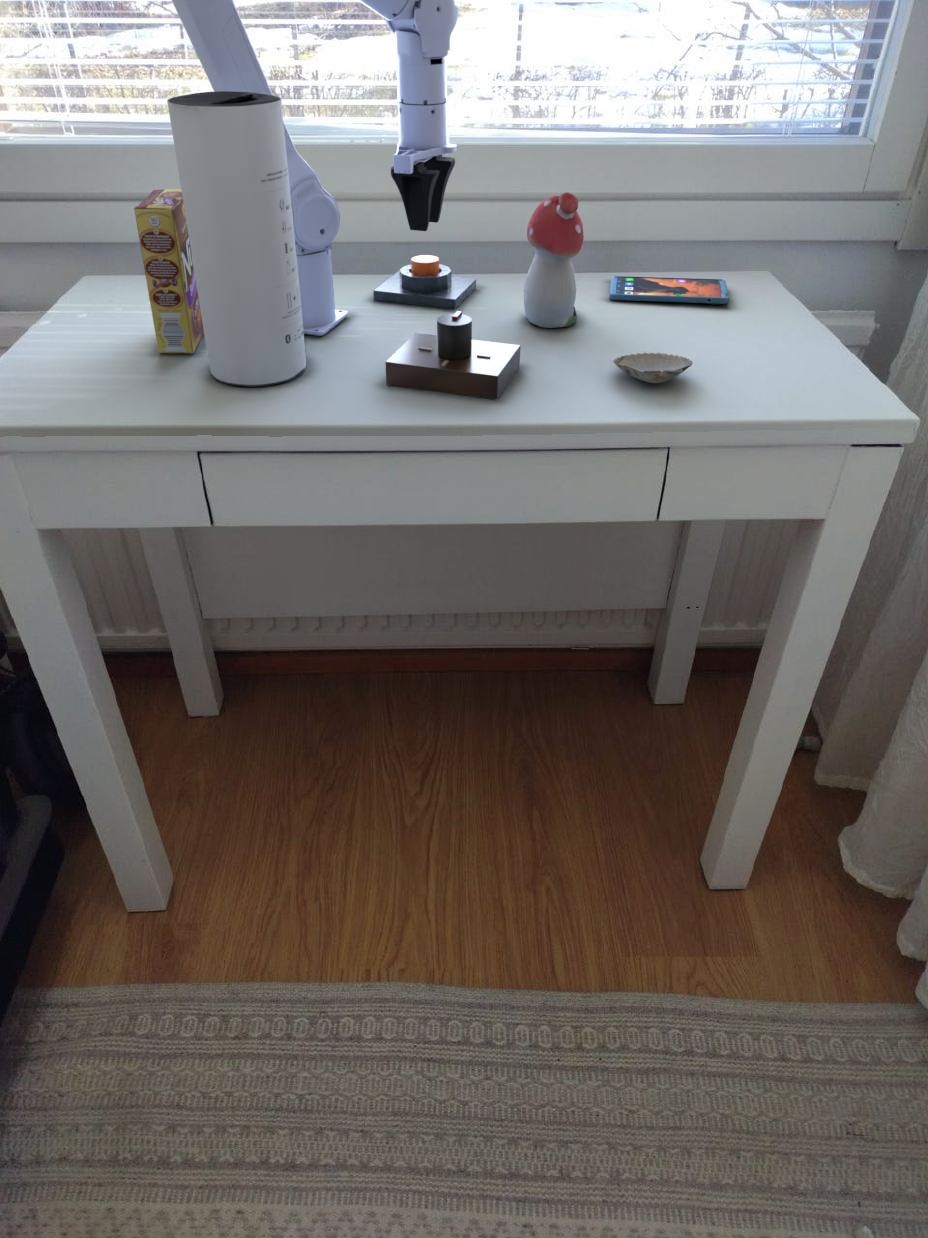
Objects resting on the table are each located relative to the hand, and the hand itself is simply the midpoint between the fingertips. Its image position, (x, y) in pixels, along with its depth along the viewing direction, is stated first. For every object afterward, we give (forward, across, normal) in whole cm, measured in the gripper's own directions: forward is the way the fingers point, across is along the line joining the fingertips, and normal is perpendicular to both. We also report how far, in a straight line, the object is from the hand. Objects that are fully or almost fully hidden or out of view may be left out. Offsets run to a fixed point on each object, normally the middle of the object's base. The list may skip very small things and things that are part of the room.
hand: (424, 225), depth 115 cm
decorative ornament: (+9, -4, -18) cm, 20 cm away
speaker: (+9, -30, +8) cm, 32 cm away
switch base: (+8, 0, 0) cm, 8 cm away
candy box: (+9, -25, +20) cm, 33 cm away
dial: (+6, -25, -12) cm, 28 cm away
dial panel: (+8, -25, -12) cm, 29 cm away
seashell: (+9, -19, -32) cm, 38 cm away
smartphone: (+9, +10, -30) cm, 33 cm away
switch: (+6, 0, 0) cm, 6 cm away
